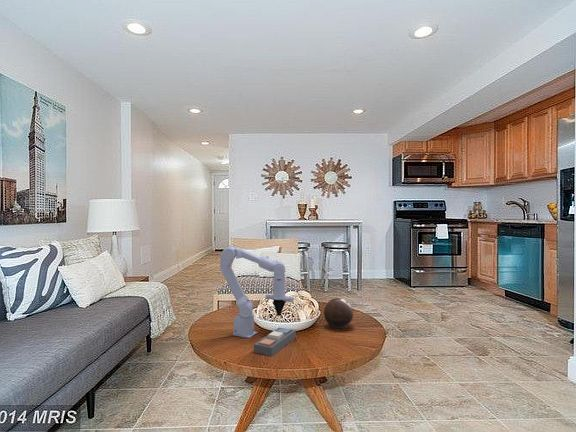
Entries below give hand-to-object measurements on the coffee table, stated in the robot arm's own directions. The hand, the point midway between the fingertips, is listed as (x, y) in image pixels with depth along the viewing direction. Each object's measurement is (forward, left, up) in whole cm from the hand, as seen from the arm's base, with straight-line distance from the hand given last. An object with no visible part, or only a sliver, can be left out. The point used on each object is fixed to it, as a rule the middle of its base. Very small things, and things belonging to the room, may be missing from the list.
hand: (279, 315), depth 169 cm
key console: (+5, -12, -9) cm, 16 cm away
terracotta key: (+5, -20, -8) cm, 22 cm away
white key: (+5, -12, -7) cm, 15 cm away
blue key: (+5, -4, -8) cm, 10 cm away
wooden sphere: (+23, +23, -10) cm, 34 cm away
